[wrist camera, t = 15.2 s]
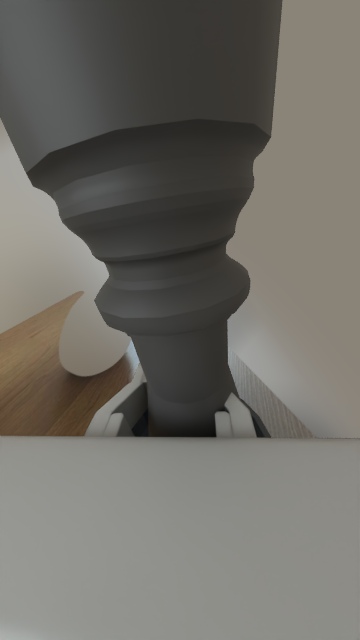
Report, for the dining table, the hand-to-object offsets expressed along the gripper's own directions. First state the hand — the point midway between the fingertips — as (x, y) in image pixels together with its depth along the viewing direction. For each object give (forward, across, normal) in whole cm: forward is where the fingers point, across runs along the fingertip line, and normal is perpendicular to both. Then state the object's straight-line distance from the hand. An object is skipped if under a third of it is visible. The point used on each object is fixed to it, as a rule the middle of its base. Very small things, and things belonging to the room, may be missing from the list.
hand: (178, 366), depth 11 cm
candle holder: (-2, -1, +13) cm, 13 cm away
